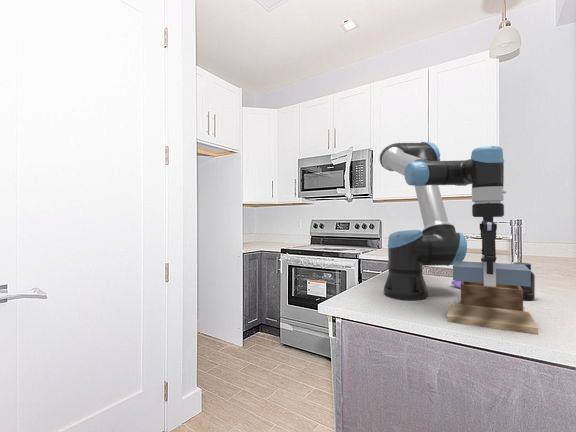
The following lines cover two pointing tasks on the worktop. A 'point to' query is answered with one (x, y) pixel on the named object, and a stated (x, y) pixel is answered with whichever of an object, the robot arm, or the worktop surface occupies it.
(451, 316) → the oak cutting board
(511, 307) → the walnut spice box
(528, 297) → the supplement bottle
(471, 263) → the slate lid
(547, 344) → the worktop surface
